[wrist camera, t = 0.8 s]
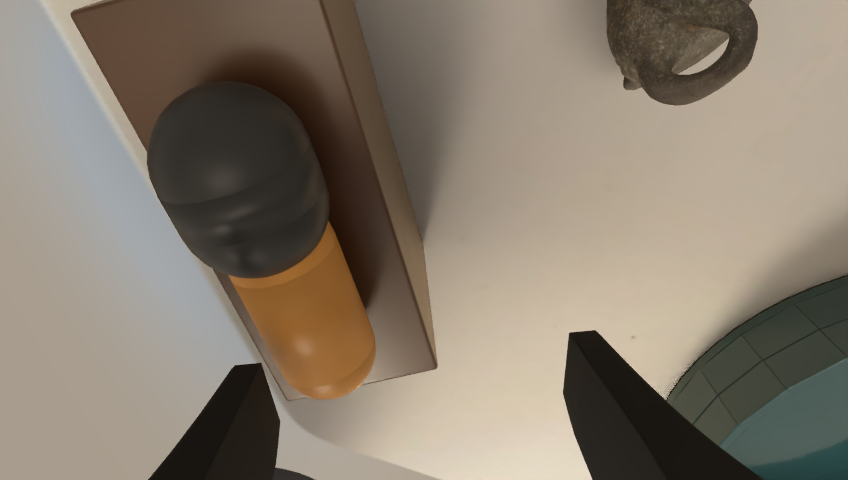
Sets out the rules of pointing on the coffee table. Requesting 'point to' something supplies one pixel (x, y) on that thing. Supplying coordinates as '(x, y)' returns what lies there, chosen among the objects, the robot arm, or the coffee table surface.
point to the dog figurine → (679, 44)
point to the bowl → (778, 388)
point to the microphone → (264, 228)
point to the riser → (322, 118)
